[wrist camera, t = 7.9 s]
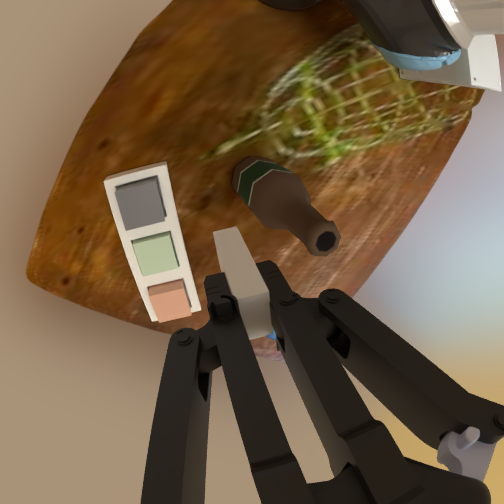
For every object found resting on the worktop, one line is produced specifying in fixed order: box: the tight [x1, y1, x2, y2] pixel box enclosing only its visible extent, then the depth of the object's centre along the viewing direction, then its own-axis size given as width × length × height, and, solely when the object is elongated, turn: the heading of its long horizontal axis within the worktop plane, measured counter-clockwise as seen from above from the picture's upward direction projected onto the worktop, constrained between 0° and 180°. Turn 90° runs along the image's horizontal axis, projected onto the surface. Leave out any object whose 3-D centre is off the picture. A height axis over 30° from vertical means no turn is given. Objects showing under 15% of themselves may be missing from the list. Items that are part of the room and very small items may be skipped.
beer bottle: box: [232, 156, 341, 256], centre depth 37 cm, size 8×8×24 cm
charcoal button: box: [115, 177, 165, 231], centre depth 39 cm, size 6×6×3 cm
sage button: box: [132, 231, 178, 277], centre depth 45 cm, size 6×6×3 cm
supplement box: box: [399, 34, 502, 92], centre depth 33 cm, size 17×13×18 cm
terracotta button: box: [149, 278, 192, 323], centre depth 48 cm, size 6×6×3 cm
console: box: [104, 161, 201, 322], centre depth 46 cm, size 27×10×3 cm, turn 9°
